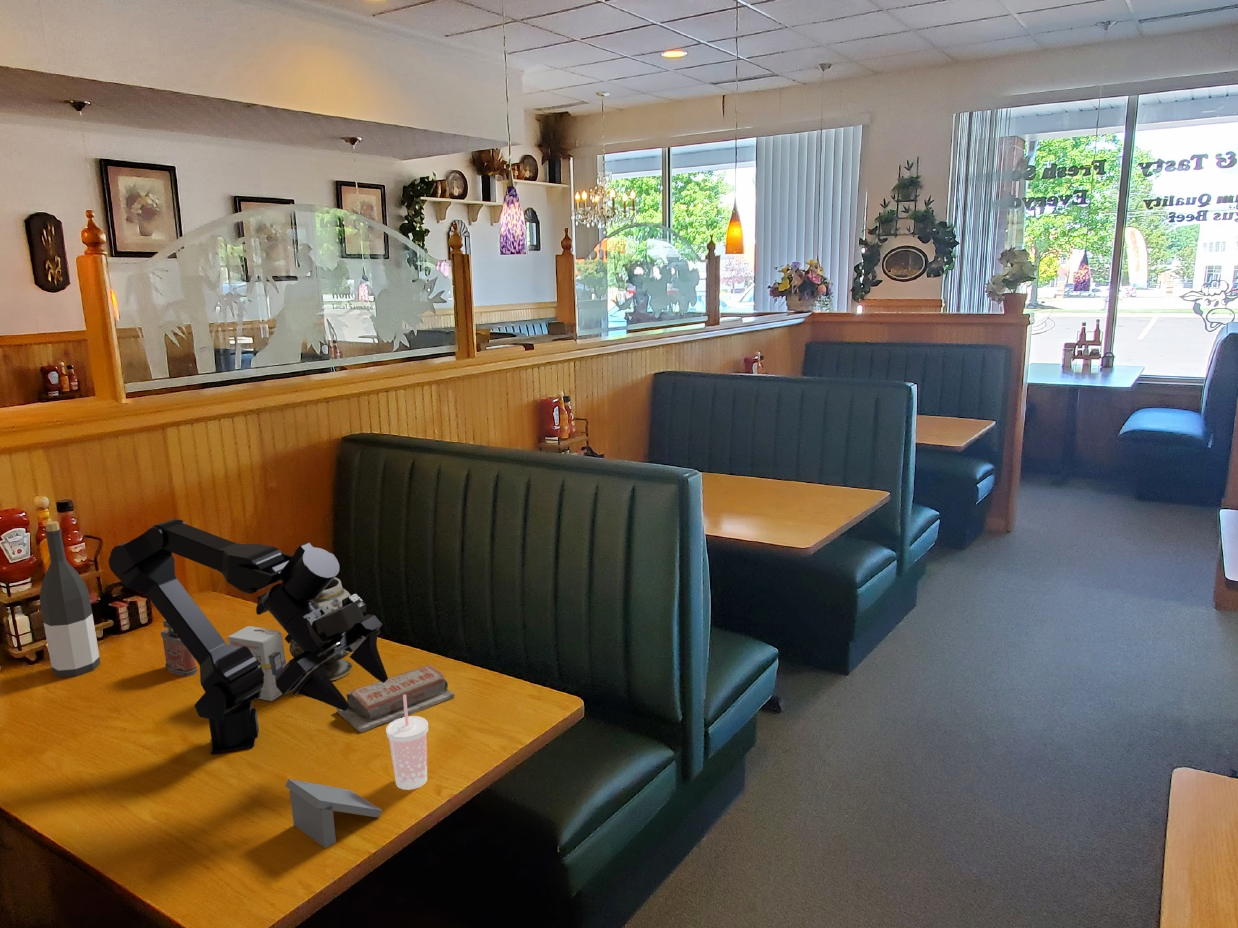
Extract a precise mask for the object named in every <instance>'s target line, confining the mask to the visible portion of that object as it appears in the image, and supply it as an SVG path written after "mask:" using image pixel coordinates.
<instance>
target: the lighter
mask: <svg viewBox="0 0 1238 928" xmlns="http://www.w3.org/2000/svg"><path fill="white" fill-rule="evenodd" d="M162 625H163V627H164V628H166V629H164V630H162V631H161V632H160V637H161V638H162V644H163V651H164V656H165V657H164V658H165V664H164V665H165V669H166V670H167V671H168V672H170V673H171V674H175V675H178V676H182V677H191V676H193V675H196V674H197V673H198V667H197V666H196V659H195V658H194V657H193V656H192V654H191V653H190V652H189V650H188V649H187V648H186V646H185V645H184V644H183V642H182V641H181V640H180V638H179V637H178V636H177V634H176V633H175V632H174V631H173V629H172V628H171V627H170V625H169V624H168V623H167V621H166V620H165V619H164V620H163V624H162Z"/></svg>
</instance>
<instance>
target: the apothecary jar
mask: <svg viewBox="0 0 1238 928" xmlns="http://www.w3.org/2000/svg"><path fill="white" fill-rule="evenodd" d="M351 595H352V594H350V593H349V591H347V590H346V589H345V588H343V585H342V581H341V579H339V578H338V577H336V576H335V577H334V579H333V580H332V581H331V582H330V583H329V584H328V586H327V587H326V588H325V589H324V590H323V592H322V593H321V594H320V595H319V596H318V597H317V598H316V599H312V600H313V601H314V602H315V603H316V605H317V606H318V607H319V608H320V607H322V606H324V605H325V606H328V607H329V608H330V609H331V610H332V611H334V610H336V609H338V608H340V607H342V600H343V599H345V598H347V597H348V596H351ZM343 634H344V633H343ZM343 634H342V636H343ZM334 649H335V648H334ZM289 652H290V653H289V654H290V655H291V656H292V658H295V657H296V656H298V655H300V654H301V653H303V650H302V649H301V648H300V647H299V646H298V645H297V643H296V642H295V641H293V642H291V643H289ZM349 654H351V652H349V651H345V650H343V651H341V652H340V653H338V654H336V655H335V656H333V657H332V658H330V659H328V660H327V661H325V662H324V663H325V666H326V672H327V676H328V678H329V679H330V680H331V682H334V681H336V680H340V679H342V678H345V677H346V676H347V675H349V674H351V672H352V669H351V668H352V667H353V664H352V663H351V662H350V661H348V660H346V659H344V658H346V657H347V656H348V655H349ZM324 655H325V654H324ZM324 655H323V656H324ZM324 663H322V664H324ZM322 664H320V665H322ZM320 665H319V666H320ZM319 666H318V667H319Z"/></svg>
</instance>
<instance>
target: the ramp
mask: <svg viewBox="0 0 1238 928" xmlns="http://www.w3.org/2000/svg"><path fill="white" fill-rule="evenodd" d="M284 787H286V788H287V789H288V790H289V796H290V797H289V798H290V803H291V813H292V814H291V815H292V821H293V826H294V827H295V828H297V829H298V830H300V831H301V832H303V834H305V835H307V836H308V837H310V838H311V839H312V840H313V841H315V842H317V844H319V845H320V846H322V847H323V848H324V849H327V848H328V847H330V846H332V845H334V844H336V843H337V839H336V837H337V836H336V829H335V827H336V826H335V821H334V820H335V818H334V812H340V813H347V814H354V815H359V816H367V817H373V818H380V817H381V815H382V812H383V810H382V809H381V808H380V807H378V806H377V805H375V804H373V803H371V802H370V801H368V800H367V799H365V798H363V796H360V795H359V794H357V793H356V792H354V791H352V790H351V789H346V788H341V787H335V786H331V785H330V786H329V785H325V784H319V783H314V782H313V783H312V782H306V781H301V780H296V779H290V778H288V779H287V781H286V783H285V785H284Z"/></svg>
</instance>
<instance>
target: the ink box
mask: <svg viewBox="0 0 1238 928" xmlns="http://www.w3.org/2000/svg"><path fill="white" fill-rule="evenodd" d="M227 642H228V643H227V644H228V645H229V646H231V647H234V648H236V649H238V648H240V647H242V646H246V647H247V648H249V650H250V651H251V653H252V655H253V656H254V657H255V658H256V660H258V661H259V662H260V663H261V665H259V666H260V667H261V668H262V670H263V672H264V684H263V687H262V689H261V694H260V697H259V698H258V699H259V700H264V701H269V702H272V701H274V700H276V699H278V698H279V697H281V696H282V695H283V694H282V693H281V691H280V690H279V689H278V688H277V687H276V680H275V677H276V676H277V675H278V673H279V672H280V671H281V670H282V669H283V668H284V667H285V665H286V664H287V660H286V653H285V648H284V647H285V646H284V641H283V634H282V632H280V630H275V629H274V630H273V629H268V628H263V627H257V626H253V625H248V626H245V627H244V628H242V629H240V630H238V631H236V632H234V633H232V634H230V635H228V636H227ZM258 699H257V700H258Z"/></svg>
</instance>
